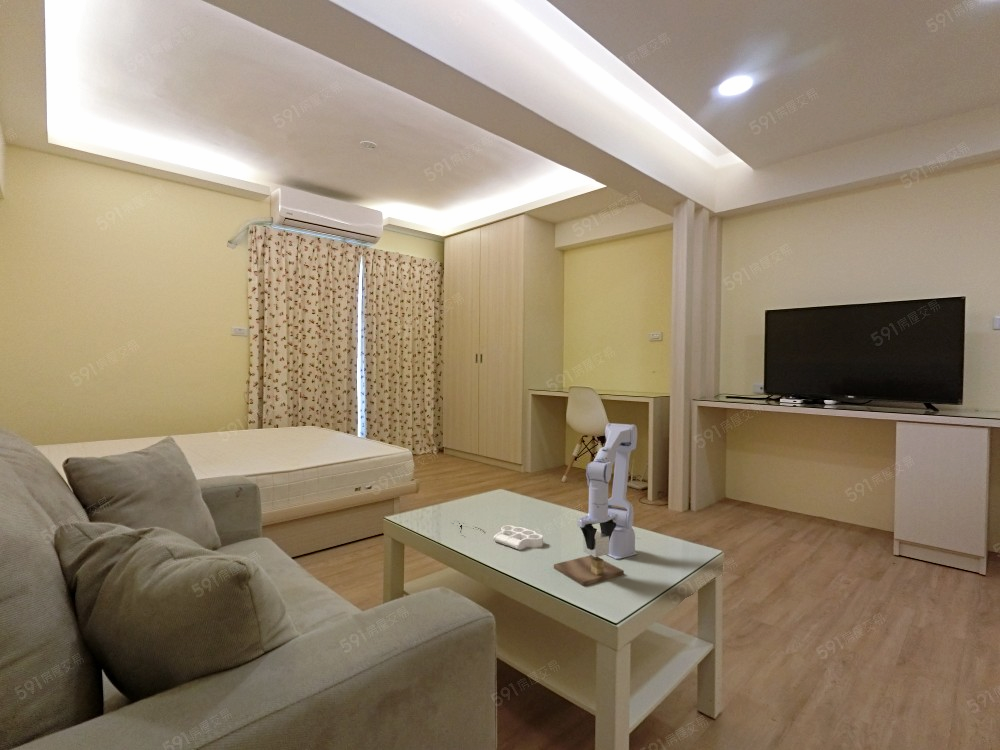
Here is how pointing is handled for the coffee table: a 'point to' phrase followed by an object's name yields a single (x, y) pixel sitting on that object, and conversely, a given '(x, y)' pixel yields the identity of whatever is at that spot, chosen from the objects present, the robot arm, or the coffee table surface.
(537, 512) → the coffee table surface
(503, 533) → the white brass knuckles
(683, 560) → the coffee table surface
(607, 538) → the brushed aluminum cube
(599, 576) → the walnut board
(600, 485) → the robot arm
